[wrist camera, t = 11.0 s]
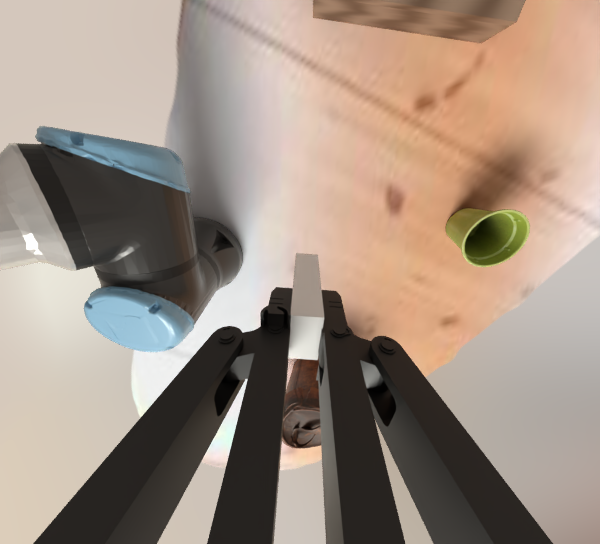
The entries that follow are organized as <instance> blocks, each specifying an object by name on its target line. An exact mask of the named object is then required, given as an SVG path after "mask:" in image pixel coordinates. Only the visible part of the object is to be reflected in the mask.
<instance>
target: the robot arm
mask: <svg viewBox="0 0 600 544" xmlns="http://www.w3.org/2000/svg"><path fill="white" fill-rule="evenodd" d="M35 137H36V139H37V141H39V142H41V144H16V143H11V144H9V145H8V146H7V147H6V148H5V149H4V150H3V151H2V152H1V153H0V270H3V269H8V268H13V267H18V266H23V265H28V264H32V263H38V262H42V263H49V264H52V265H55V266H58V267H61V268H65V269H68V270H71V271H75V270H79V269H83V268H87V267H91V266H94V268H95V271H96V273H97V275H98V278H99V280H100V283H101V288H99V289H96V290H95V291H93V292H92V293H91V294H90V297H89V298H88V300H87V301H86V303H85V306H84V311H85V315H86V318H87V319H88V321H89V323H90V324H91V325H92V326H93V327H94V328H95V329H96V330H97V331H98V332H99V333H100V334H102V335H103V336H105V337H106V338H108V339H109V340H111V341H113V342H115V343H118V344H119V345H122V346H124V347H127V348H130V349H134V350H138V351H144V352H161V351H166V350H169V349H172V348H174V347H175V346H177V345H178V344H180V343H181V342H182V341H183V339H184V338H185V337H186V336H187V335H188V333H189V332H191V331H192V329H193V328H194V325H195V323H196V321H197V320H198V318H199V317H200V315H201V314H202V312H203V310H204V309H205V307H206V306H207V304H208V303H209V301H210V300H211V298H212V297H213V295H214V293H215V292H216V291H217V290H218V289H219V288H221V287H224V286H226V285H227V284H229V283H230V282H231V281H232V280H233V279H234V278H235V277H236V276H237V274H238V272H239V270H240V268H241V266H242V260H243V256H242V250H241V247H240V244H239V242H238V241H237V239H236V238H235V236H234V235H233V234H232V233H231V232H230V231H229V230H228V229H227V228H226V227H224V226H223V225H221V224H220V223H218V222H216V221H213V220H210V219H206V218H193V213H192V206H191V200H190V193H191V191H190V189H189V188H188V185H187V180H186V175H185V170H184V166H183V163H182V161H181V159H180V158H179V156H178V155H177V154H176V153H174V152H173V151H171V150H169V149H167V148H163V147H157V146H153V145H147V144H142V143H136V142H131V141H126V140H120V139H114V138H109V137H103V136H97V135H91V134H85V133H79V132H74V131H68V130H63V129H58V128H52V127H46V126H40V127H39V128H38V129H37V134H36V136H35ZM318 355H319V366H318V372H317V378H316V380H318V384H319V405H320V426H321V446H322V465H323V466H322V467H323V487H324V506H325V527H326V528H325V529H326V544H405V540H404V536H403V532H402V529H401V524H400V520H399V516H398V512H397V509H396V504H395V500H394V496H393V492H392V488H391V484H390V480H389V476H388V472H387V468H386V464H385V460H384V456H383V452H382V448H381V444H380V440H379V436H378V431H377V427H376V423H375V420H376V422H377V424H378V427H379V429H380V431H381V433H382V435H383V437H384V440H385V441H386V443H387V446H388V448H389V450H390V452H391V454H392V456H393V459H394V461H395V463H396V465H397V467H398V469H399V471H400V473H401V476H402V477H403V479H404V482H405V484H406V486H407V488H408V490H409V492H410V495H411V497H412V499H413V501H414V503H415V505H416V507H417V509H418V511H419V514H420V516H421V518H422V520H423V522H424V524H425V526H426V528H427V531H428V533H429V535H430V536H431V539H432V541H433V543H434V544H553V543H552V542H551V541H550V539H549V538H548V537H547V535H546V534H545V533H544V531H543V530H542V529H541V527H540V526H539V525H538V524H537V522H536V521H535V520H534V518H533V517H532V516H531V514H530V513H529V512H528V511H527V509H526V508H525V507H524V505H523V504H522V503H521V501H520V500H519V499H518V498H517V496H516V495H515V494H514V492H513V491H512V490H511V488H510V487H509V486H508V485H507V483H506V482H505V481H504V479H503V478H502V477H501V476H500V474H499V473H498V472H497V470H496V469H495V468H494V466H493V465H492V464H491V462H490V461H489V460H488V459H487V457H486V456H485V455H484V453H483V452H482V451H481V450H480V448H479V447H478V446H477V444H476V443H475V442H474V440H473V439H472V438H471V436H470V435H469V434H468V433H467V431H466V430H465V429H464V427H463V426H462V425H461V423H460V422H459V421H458V420H457V418H456V417H455V416H454V414H453V413H452V412H451V410H450V409H449V408H448V407H447V405H446V404H445V403H444V401H443V400H442V399H441V397H440V396H439V395H438V394H437V392H436V391H435V390H434V388H433V387H432V386H431V384H430V383H429V382H428V381H427V379H426V378H425V377H424V375H423V374H422V373H421V371H420V370H419V369H418V367H417V366H416V365H415V364H414V362H413V361H412V360H411V358H410V357H409V356H408V354H407V353H406V352H405V351H404V349H403V348H402V347H401V345H400V344H399V343H397V342H396V341H395V340H393V339H391V338H389V337H386V336H378V337H374V339H373V340H372V341H368V340H365V339H362V338H360V337H357V336H356V335H354V334H353V332H352V330H351V329H350V328H349V327H348V326H347V322H346V318H345V313H344V309H343V305H342V300H341V296H340V295H339V294H338V293H337V292H336V291H329V290H321V281H320V271H319V262H318V255H313V254H299V253H296V260H295V271H294V281H293V288H279V287H276V288H275V289H274V290H273V291H272V292H271V297H270V301H269V305H268V306H266V307H265V308H264V309H262V311H261V327H259V328H258V329H256V330H254V331H250V332H244V333H242V331H241V330H240V329H239V328H236V327H232V326H227V327H222V328H220V329H218V330H216V331H215V332H214V333H213V334H212V335H211V336H210V337H209V339H208V340H207V341H206V342H205V343H204V344H203V346H202V347H201V348H200V349H199V350H198V351H197V353H196V354H195V355H194V356H193V357H192V358H191V360H190V361H189V362H188V363H187V364H186V366H185V367H184V368H183V369H182V370H181V371H180V373H179V374H178V375H177V376H176V377H175V378H174V380H173V381H172V382H171V383H170V384H169V385H168V387H167V388H166V389H165V390H164V391H163V392H162V394H161V395H160V396H159V397H158V398H157V399H156V401H155V402H154V403H153V404H152V405H151V406H150V408H149V409H148V410H147V411H146V412H145V414H144V415H143V416H142V417H141V418H140V419H139V421H138V422H137V423H136V424H135V425H134V426H133V428H132V429H131V430H130V431H129V432H128V433H127V435H126V436H125V437H124V438H123V439H122V441H121V442H120V443H119V444H118V445H117V447H115V449H114V450H113V451H112V452H111V453H110V455H109V456H108V457H107V458H106V459H105V460H104V462H103V463H102V464H101V465H100V466H99V467H98V469H97V470H96V471H95V472H94V473H93V474H92V476H91V477H90V478H89V479H88V480H87V481H86V483H85V484H84V485H83V486H82V487H81V488H80V490H79V491H78V492H77V493H76V494H75V495H74V497H73V498H72V499H71V500H70V501H69V502H68V504H67V505H66V506H65V507H64V508H63V509H62V511H61V512H60V513H59V514H58V515H57V517H56V518H55V519H54V520H53V521H52V522H51V524H50V525H49V526H48V527H47V528H46V529H45V531H44V532H43V533H42V534H41V536H39V538H38V539H37V540H36V541H35V542H34V544H157V542H158V540H159V538H160V537H161V535H162V533H163V531H164V529H165V527H166V525H167V524H168V522H169V520H170V518H171V516H172V514H173V513H174V511H175V509H176V507H177V505H178V503H179V501H180V500H181V498H182V496H183V494H184V492H185V490H186V488H187V487H188V485H189V483H190V481H191V479H192V477H193V475H194V473H195V472H196V470H197V468H198V466H199V464H200V463H201V461H202V459H203V457H204V455H205V453H206V451H207V450H208V448H209V446H210V444H211V442H212V440H213V438H214V437H215V435H216V433H217V431H218V429H219V427H220V425H221V424H222V422H223V420H224V418H225V416H226V414H227V412H228V411H229V409H230V407H231V405H232V403H233V401H234V400H235V398H236V396H237V394H238V392H239V390H240V388H241V387H242V385H243V383H244V381H245V379H247V378H248V381H247V385H246V389H245V393H244V397H243V401H242V405H241V409H240V413H239V417H238V421H237V425H236V429H235V434H234V438H233V442H232V446H231V450H230V454H229V458H228V462H227V466H226V470H225V474H224V478H223V482H222V486H221V490H220V494H219V498H218V502H217V506H216V510H215V514H214V518H213V522H212V526H211V530H210V534H209V538H208V543H207V544H273V542H274V530H275V517H276V505H277V493H278V481H279V469H280V456H281V444H282V431H283V419H284V407H285V394H286V382H287V370H288V358H293V359H308V360H318ZM374 418H375V419H374Z"/></svg>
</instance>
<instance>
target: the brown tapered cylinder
mask: <svg viewBox="0 0 600 544" xmlns="http://www.w3.org/2000/svg"><path fill="white" fill-rule="evenodd" d="M318 366H319V355H318V360H308V359H298V360H297V362H296V363H295V364H294V367H293V370H292V373H291V377H290V380H289V383H288V386H287V390H286V394H285V407H284V419H283V431H282V441H283V442H284V444H286V445H287V446H289V447H291V448H309V447H315V446H320V445H321V426H320V405H319V384H318V380H316V378H317V372H318Z"/></svg>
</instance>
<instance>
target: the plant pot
mask: <svg viewBox="0 0 600 544" xmlns="http://www.w3.org/2000/svg"><path fill="white" fill-rule="evenodd" d="M476 225H477V226H476ZM475 226H476V227H475ZM529 231H530V224H529V221H528V219H527V217H526V216H525V215H524V214H523V213H521V212H519V211H516V210H511V209H504V210H498V211H486V210H479V209H472V208H465V209H462V210H459V211H457V212H456V213H455V214H454V215H453V216H452V217H450V218H449V220H448V222H447V224H446V233H447V235H448V236H449V238H451V239H452V240H453V241H454V242H455V244H456V245H457V246H458V247H459V248H460V249H461V251H462V254H463V257H464V258H465V260H466V261H467V262H469V263H470V264H472V265H474V266H477V267H491V266H495V265H498V264H500V263H503V262H505V261H507V260H508V259H510V258H511V257H513V256H514V255H515V254H516V253H517V252H518V251H519V250H520V249H521V248H522V247H523V246H524V244H525V242H526V241H527V238H528V236H529Z"/></svg>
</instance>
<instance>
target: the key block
mask: <svg viewBox="0 0 600 544" xmlns="http://www.w3.org/2000/svg"><path fill="white" fill-rule="evenodd" d="M525 1H526V0H313V18H319V19H325V20H332V21H338V22H345V23H352V24H358V25H365V26H371V27H378V28H384V29H391V30H397V31H404V32H410V33H417V34H423V35H430V36H436V37H443V38H449V39H456V40H463V41H469V42H476V43H483V42H484V41H486V40H488V39H489V38H491V37H493V36H494V35H496V34H497V33H499V32H501V31H502V30H504V29H506V28H507V27H509V26H511V25H512V24H514V23H516V22H517V20H518V17H519V15H520V12H521V10H522V8H523V5H524V3H525Z"/></svg>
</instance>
